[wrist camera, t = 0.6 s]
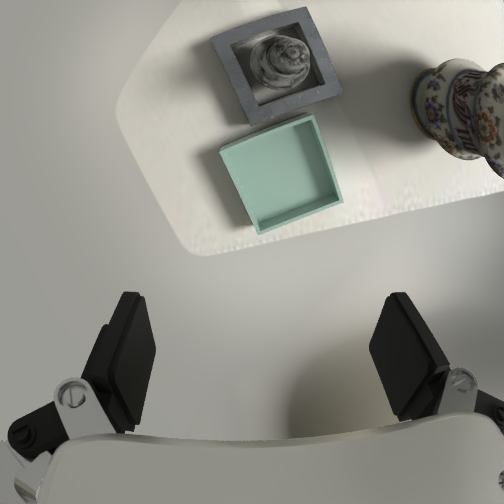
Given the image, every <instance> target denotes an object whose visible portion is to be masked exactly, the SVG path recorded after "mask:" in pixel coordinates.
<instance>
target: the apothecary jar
mask: <svg viewBox="0 0 504 504" xmlns="http://www.w3.org/2000/svg"><path fill="white" fill-rule="evenodd" d="M410 100H411V109H412V113H413V116H414V119H415V121H416V123H417V125H418V126H419V128H420V129H421V130H422V131H423V133H424V134H425V135H427V136H428V137H429V138H431V139H433V140H436V141H437V142H438V143H439V144H440V146H441V147H442V148H443V149H444V150H445V151H447V152H448V153H449V154H451V155H453V156H455V157H457V158H459V159H463V160H474V159H478V158H480V157H485V159H486V161H487V162H488V164H489V166H490V167H491V168H492V169H493V171H494V172H495V173H496V174H498V175H499V176H500V177H502V178H503V179H504V63H501V64H498V65H496V66H495V67H493V68H492V69H491V70H490V71H489V72H486V71H485V70H484V69H483V68H481V67H480V66H479V65H477V64H475V63H474V62H471V61H469V60H465V59H452V60H448V61H446V62H444V63H442V64H441V65H440V66H438V67H437V68H431V69H427V70H425V71H423V72H422V73H420V74H419V76H418V77H417V78H416V80H415V82H414V84H413V86H412V90H411V98H410Z"/></svg>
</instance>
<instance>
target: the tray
mask: <svg viewBox="0 0 504 504" xmlns="http://www.w3.org/2000/svg"><path fill="white" fill-rule="evenodd" d="M219 153H220V155H221V157H222V159H223V161H224V163H225V165H226V167H227V170H228V172H229V174H230V176H231V178H232V180H233V182H234V184H235V186H236V189H237V191H238V193H239V195H240V197H241V199H242V201H243V204H244V206H245V208H246V210H247V212H248V214H249V216H250V218H251V221H252V223H253V225H254V227H255V229H256V231H257V234H258V235H260V234H263V233H265V232H268V231H270V230H273V229H276V228H278V227H281V226H283V225H286V224H288V223H291V222H293V221H296V220H299V219H301V218H304V217H306V216H309V215H311V214H314V213H317V212H319V211H322V210H324V209H327V208H329V207H332V206H335V205H337V204H340V203H342V202H343V198H342V195H341V192H340V188H339V185H338V182H337V179H336V176H335V173H334V170H333V167H332V164H331V161H330V158H329V155H328V152H327V149H326V146H325V143H324V141H323V138H322V135H321V132H320V130H319V127H318V124H317V122H316V119H315V116H314V114H310V113H305V114H302V115H299V116H297V117H294V118H291V119H289V120H286V121H283V122H281V123H278V124H275V125H273V126H270V127H268V128H265V129H263V130H260V131H258V132H255V133H253V134H250V135H248V136H245V137H243V138H241V139H238V140H236V141H233V142H231V143H229V144H227V145H224V146H222V147H221V148H220V151H219Z"/></svg>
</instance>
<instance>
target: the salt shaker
mask: <svg viewBox="0 0 504 504" xmlns="http://www.w3.org/2000/svg"><path fill="white" fill-rule="evenodd" d="M309 58H310V53H309V50H308V48H307V46H306V45H305V44H304V43H303V42H302V41H300V40H298V39H295V38H291V37H288V36H284V35H274V36H269V37H267V38H265V39H263V40H261V41H260V42H259V43H257V44H256V45H255V47H254V49H253V50H252V52H251V56H250V68H251V71H252V73H253V75H254V76H255V78H256V79H257V80H258V81H259V82H260V83H261V84H263V85H264V86H266V87H268V88H271V89H275V90H287V89H291V88H294V87H296V86H298V85H299V84H300V83H301V82H303V81H304V79H305V78H306V76H307V75H308V72H309V69H310V59H309Z"/></svg>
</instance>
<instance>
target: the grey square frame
mask: <svg viewBox="0 0 504 504" xmlns="http://www.w3.org/2000/svg"><path fill="white" fill-rule="evenodd" d="M291 27H295V29H296V31H297V33H298V35H299V38H300V40H301V41H302V42H303V43H304V44H305V45H306V46H307V48H308V50H309V53H310V58H309V59H310V62H311V65H312V67H313V69H314V72H315V74H316V77H317V79H318V82H319V84H320V85H317V86H314V87H311V88H308V89H305V90H302V91H299V92H296V93H293V94H290V95H288V96H285V97H282V98H279V99H277V100H274V101H271V102H269V103H266V104H263V105H261V106H258V104H257V102H256V100H255V98H254V95H253V93H252V91H251V89H250V87H249V84H248V82H247V80H246V78H245V76H244V74H243V71H242V69H241V67H240V65H239V63H238V61H237V59H236V57H235V55H234V52H233V50H232V48H233V47H235V46H238V45H240V44H243V43H246V42H248V41H251V40H254V39H257V38H260V37H262V36H265V35H268V34H271V33H274V32H278V31H281V30H284V29H287V28H291ZM210 40H211V42H212V44H213V46H214V48H215V50H216V52H217V54H218V56H219V58H220V60H221V62H222V65H223V67H224V69H225V71H226V73H227V75H228V77H229V79H230V81H231V84H232V86H233V88H234V90H235V92H236V94H237V96H238V99H239V101H240V103H241V105H242V107H243V110H244V112H245V114H246V116H247V118H248V121H249V123H250V125H251V126H253V125H256V124H258V123H261V122H263V121H266V120H268V119H271V118H273V117H276V116H279V115H281V114H284V113H287V112H290V111H292V110H295V109H298V108H301V107H303V106H306V105H309V104H312V103H315V102H318V101H321V100H324V99H327V98H330V97H333V96H337V95H340V94H343V91H342V88H341V85H340V83H339V80H338V77H337V75H336V72H335V70H334V67H333V65H332V62H331V60H330V58H329V55H328V53H327V51H326V48H325V46H324V44H323V41H322V39H321V37H320V35H319V32H318V30H317V28H316V26H315V24H314V22H313V20H312V17H311V15H310V13H309V11H308V9H307V7H302V8H298V9H294V10H290V11H287V12H283V13H280V14H276V15H273V16H270V17H267V18H264V19H261V20H258V21H255V22H252V23H249V24H246V25H243V26H240V27H238V28H235V29H232V30H230V31H227V32H225V33H222V34H220V35H217V36H215V37H213V38H210Z"/></svg>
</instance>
